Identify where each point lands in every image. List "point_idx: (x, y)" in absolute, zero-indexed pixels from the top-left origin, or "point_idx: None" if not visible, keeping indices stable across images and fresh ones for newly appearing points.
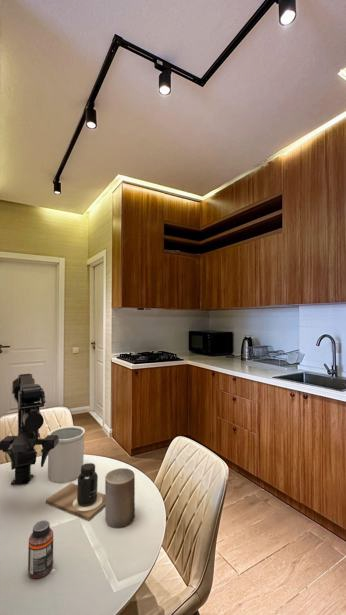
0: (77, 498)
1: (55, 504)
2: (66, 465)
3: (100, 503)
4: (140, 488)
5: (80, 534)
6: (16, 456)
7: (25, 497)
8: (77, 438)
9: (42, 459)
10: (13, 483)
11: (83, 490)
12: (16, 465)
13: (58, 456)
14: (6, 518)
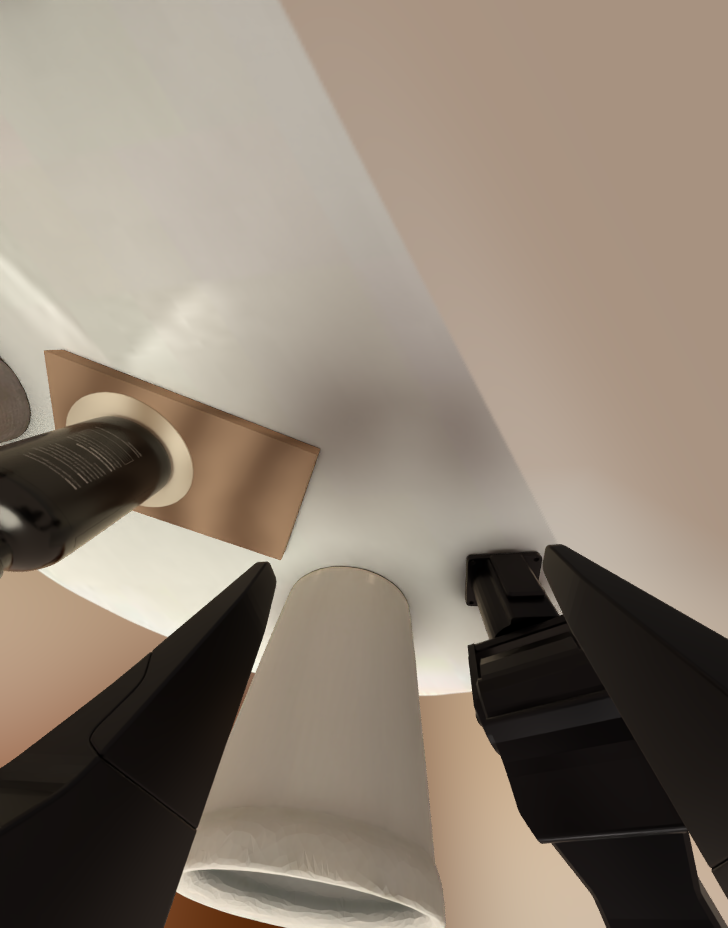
0: (133, 441)
1: (256, 430)
2: (296, 634)
3: None
4: None
5: (24, 250)
6: (643, 706)
7: (430, 481)
8: None
9: (189, 639)
10: (528, 556)
11: (29, 441)
12: (550, 575)
13: (321, 687)
14: (442, 329)
